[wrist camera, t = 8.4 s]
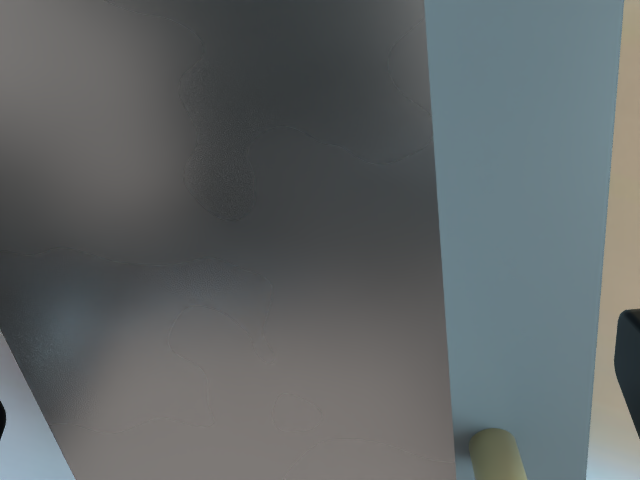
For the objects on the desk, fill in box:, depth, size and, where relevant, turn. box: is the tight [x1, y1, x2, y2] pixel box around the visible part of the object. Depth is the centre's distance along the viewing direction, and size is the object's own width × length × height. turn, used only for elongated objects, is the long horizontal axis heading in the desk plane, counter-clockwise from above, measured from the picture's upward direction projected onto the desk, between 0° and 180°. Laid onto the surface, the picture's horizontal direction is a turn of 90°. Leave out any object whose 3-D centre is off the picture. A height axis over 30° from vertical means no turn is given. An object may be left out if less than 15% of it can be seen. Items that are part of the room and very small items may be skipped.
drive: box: [0, 0, 456, 480], centre depth 10 cm, size 16×4×7 cm, turn 9°
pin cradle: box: [424, 0, 624, 480], centre depth 11 cm, size 20×12×5 cm, turn 9°
